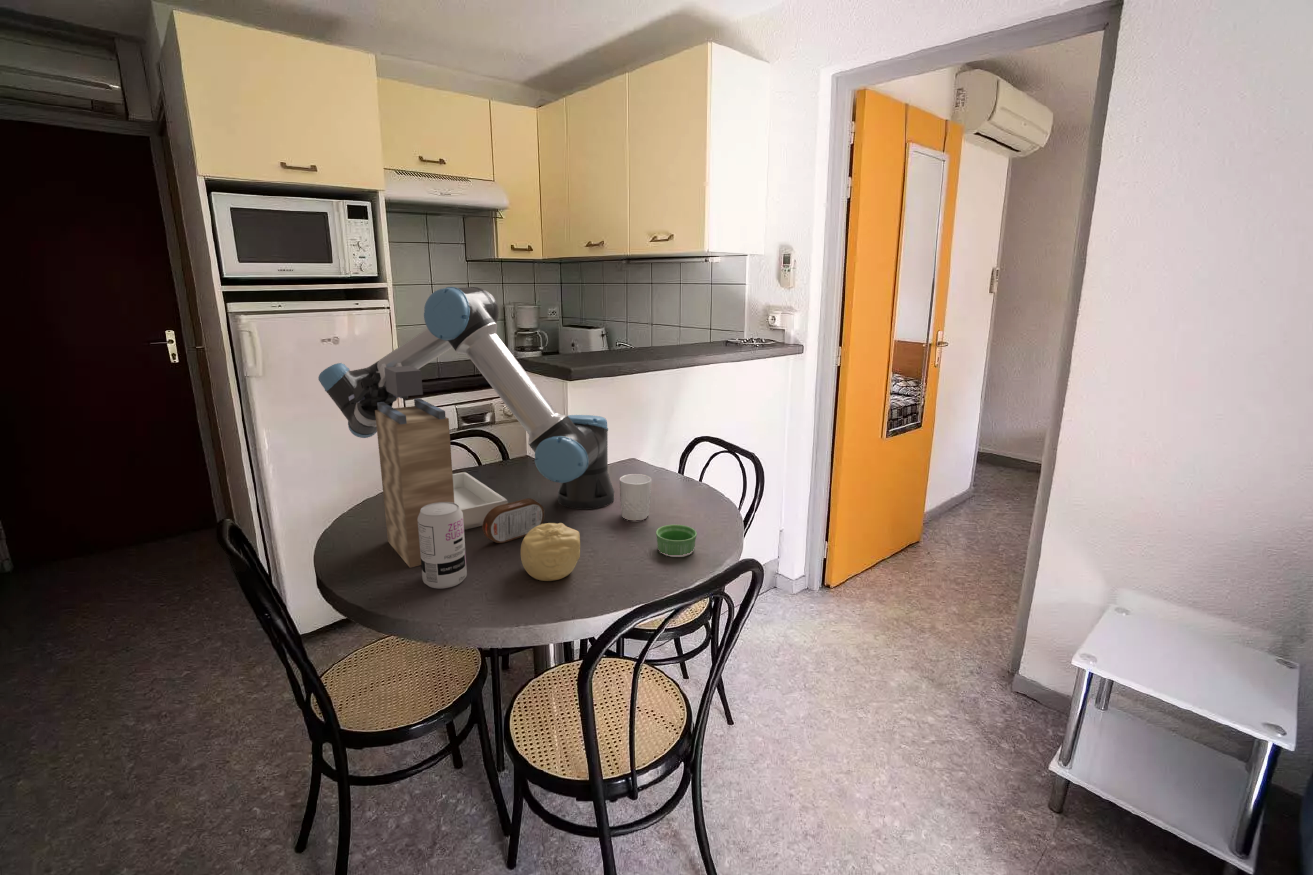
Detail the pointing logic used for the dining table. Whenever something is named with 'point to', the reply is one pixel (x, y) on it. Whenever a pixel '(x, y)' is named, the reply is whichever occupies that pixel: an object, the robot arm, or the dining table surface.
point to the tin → (512, 520)
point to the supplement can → (442, 545)
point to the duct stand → (412, 469)
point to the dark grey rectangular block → (403, 381)
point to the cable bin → (474, 499)
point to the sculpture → (550, 551)
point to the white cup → (635, 496)
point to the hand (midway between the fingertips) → (392, 369)
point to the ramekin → (676, 539)
